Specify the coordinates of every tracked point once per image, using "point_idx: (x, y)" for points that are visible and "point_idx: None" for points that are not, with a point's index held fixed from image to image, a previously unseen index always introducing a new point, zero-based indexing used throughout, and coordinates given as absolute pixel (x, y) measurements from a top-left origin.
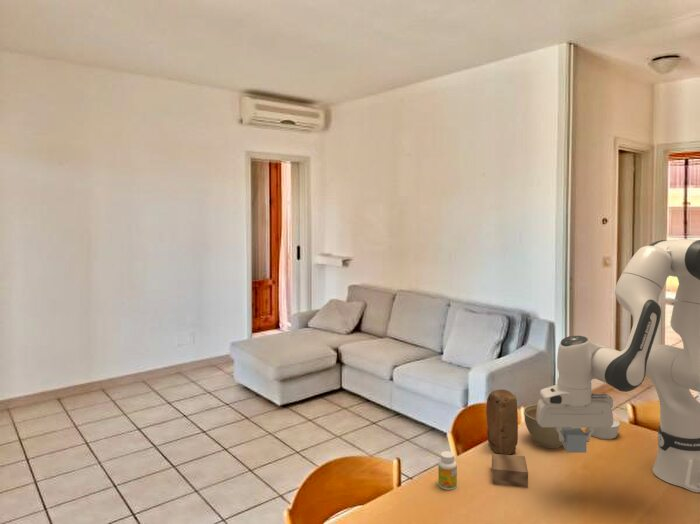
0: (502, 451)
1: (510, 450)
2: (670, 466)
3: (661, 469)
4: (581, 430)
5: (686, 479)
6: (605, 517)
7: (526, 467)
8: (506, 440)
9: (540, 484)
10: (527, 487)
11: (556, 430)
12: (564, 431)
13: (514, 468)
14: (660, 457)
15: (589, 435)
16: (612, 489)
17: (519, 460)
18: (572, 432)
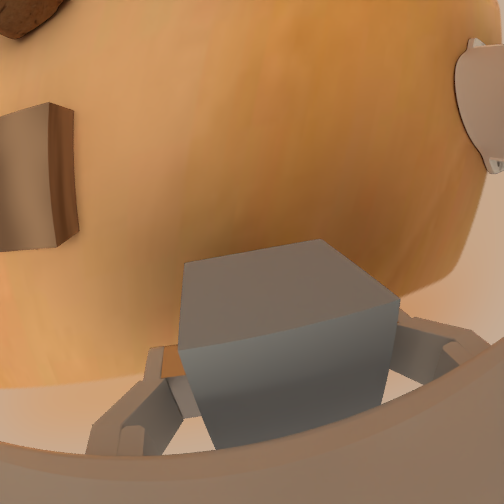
0: (16, 35)
1: (42, 16)
2: (500, 131)
3: (478, 111)
4: (382, 361)
5: (499, 159)
6: None
7: (49, 206)
8: (8, 15)
9: (117, 196)
10: (78, 230)
11: (116, 409)
12: (200, 408)
13: (14, 229)
14: (498, 99)
15: (406, 368)
16: (353, 177)
17: (26, 149)
18: (279, 425)
